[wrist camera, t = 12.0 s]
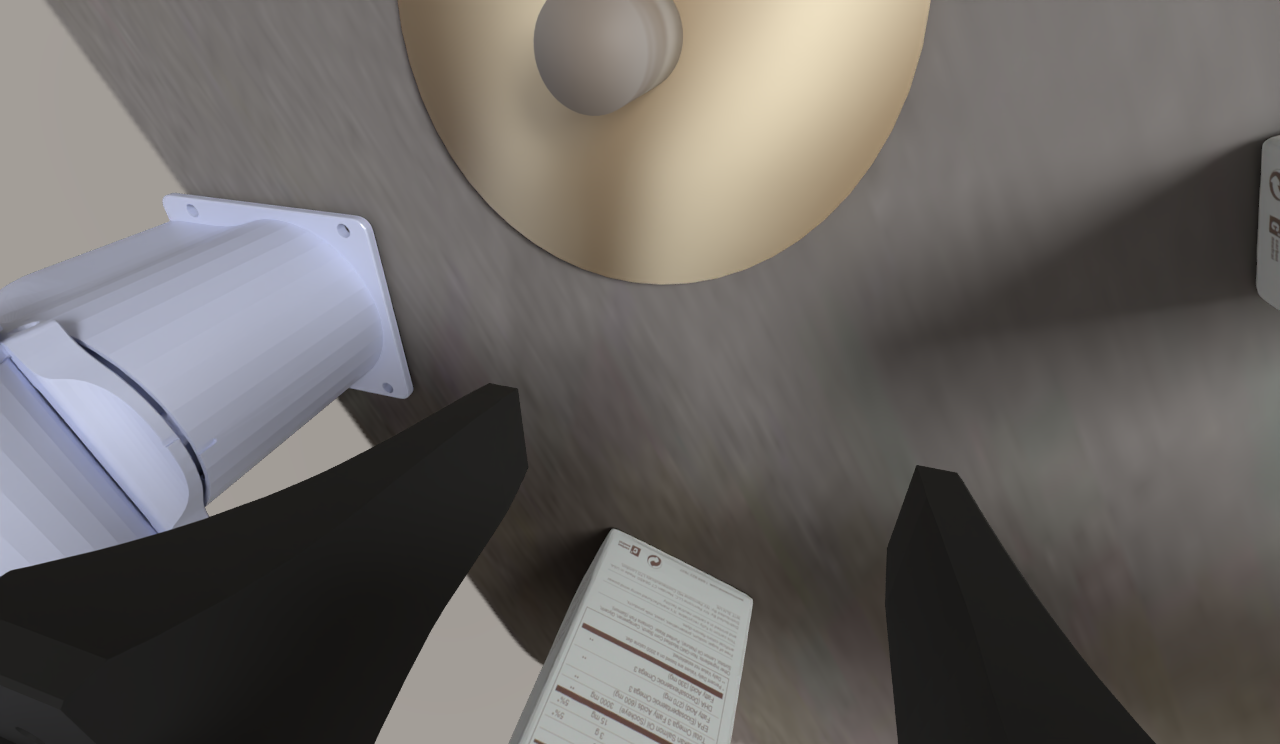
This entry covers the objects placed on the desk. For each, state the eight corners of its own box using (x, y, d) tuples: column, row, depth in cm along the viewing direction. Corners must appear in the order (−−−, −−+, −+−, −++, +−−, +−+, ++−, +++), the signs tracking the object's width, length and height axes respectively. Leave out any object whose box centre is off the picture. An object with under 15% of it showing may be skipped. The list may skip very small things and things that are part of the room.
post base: (452, 250, 22) (385, 297, 19) (347, -326, 14) (204, -406, 11) (859, 306, 18) (858, 373, 15) (1028, -413, 10) (1096, -565, 7)
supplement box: (695, 665, 32) (618, 992, 21) (569, 600, 32) (433, 895, 22) (761, 596, 27) (701, 969, 17) (612, 521, 27) (468, 846, 17)
